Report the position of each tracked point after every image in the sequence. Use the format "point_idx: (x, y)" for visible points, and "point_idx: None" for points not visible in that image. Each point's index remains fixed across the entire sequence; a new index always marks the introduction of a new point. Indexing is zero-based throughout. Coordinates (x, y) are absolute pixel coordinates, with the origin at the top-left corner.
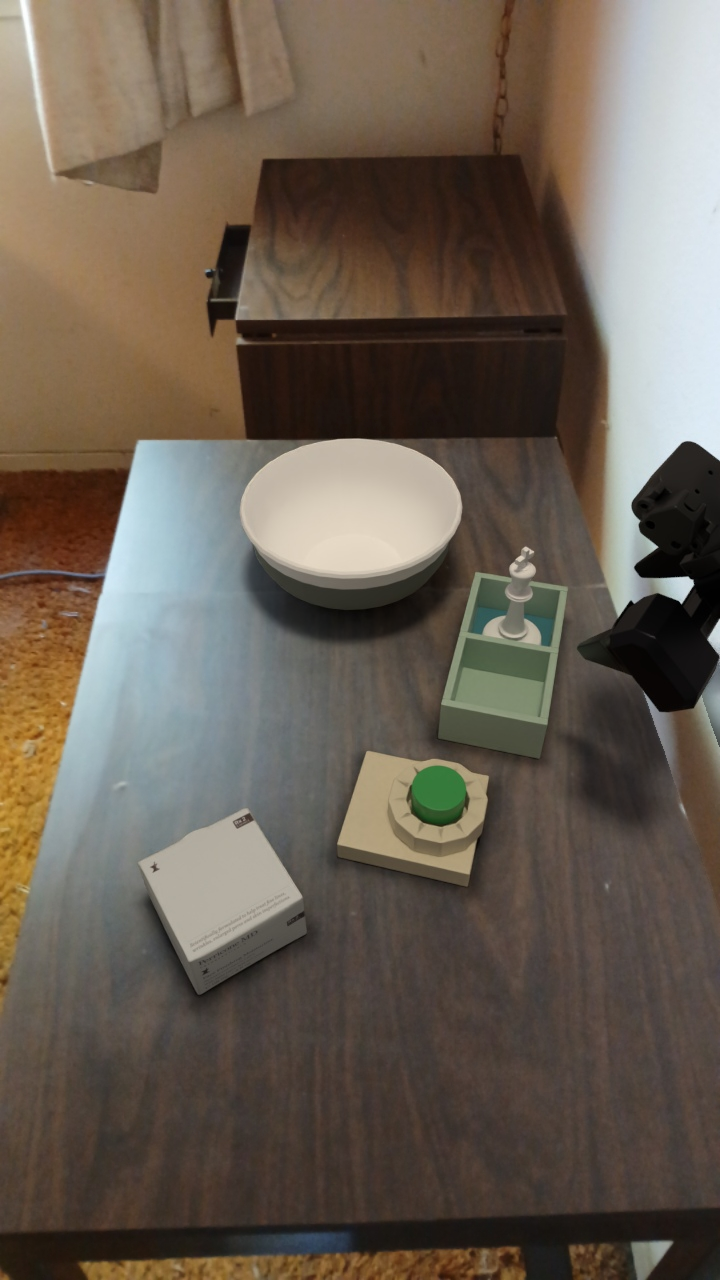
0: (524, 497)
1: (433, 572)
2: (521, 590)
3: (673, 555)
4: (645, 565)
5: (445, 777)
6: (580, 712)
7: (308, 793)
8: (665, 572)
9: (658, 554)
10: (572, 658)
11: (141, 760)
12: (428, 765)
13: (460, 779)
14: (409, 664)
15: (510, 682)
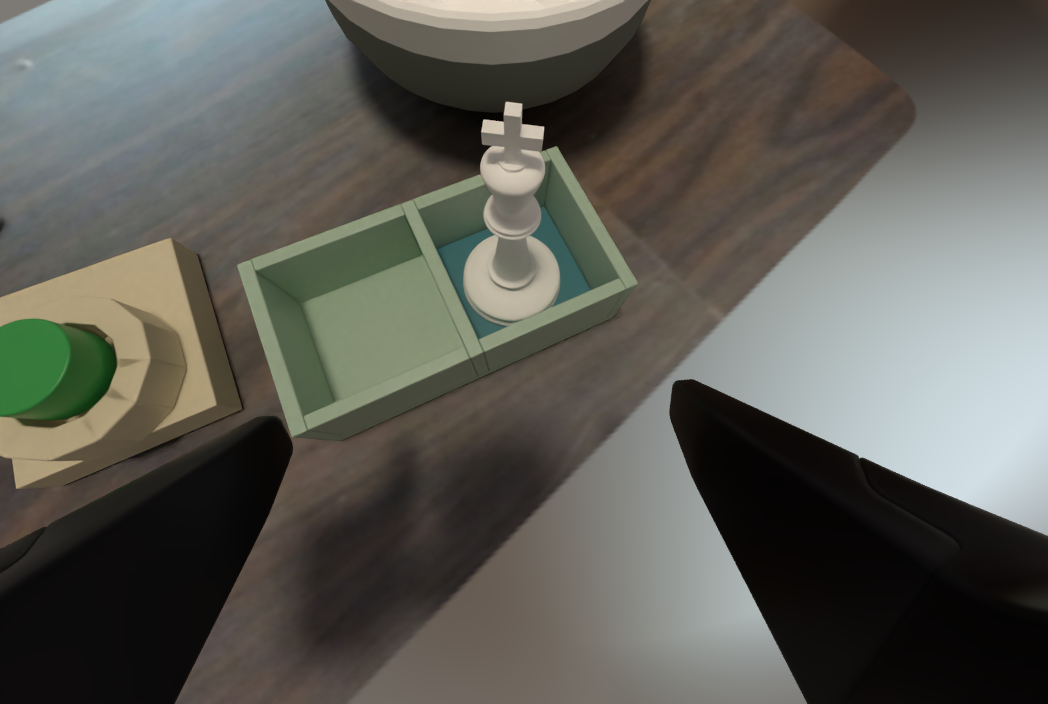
0: (805, 138)
1: (495, 93)
2: (503, 211)
3: (774, 513)
4: (691, 414)
5: (44, 361)
6: (464, 442)
7: (115, 226)
8: (711, 492)
9: (740, 445)
10: (558, 372)
11: (69, 57)
12: (120, 321)
13: (47, 385)
14: (393, 198)
15: (438, 325)
